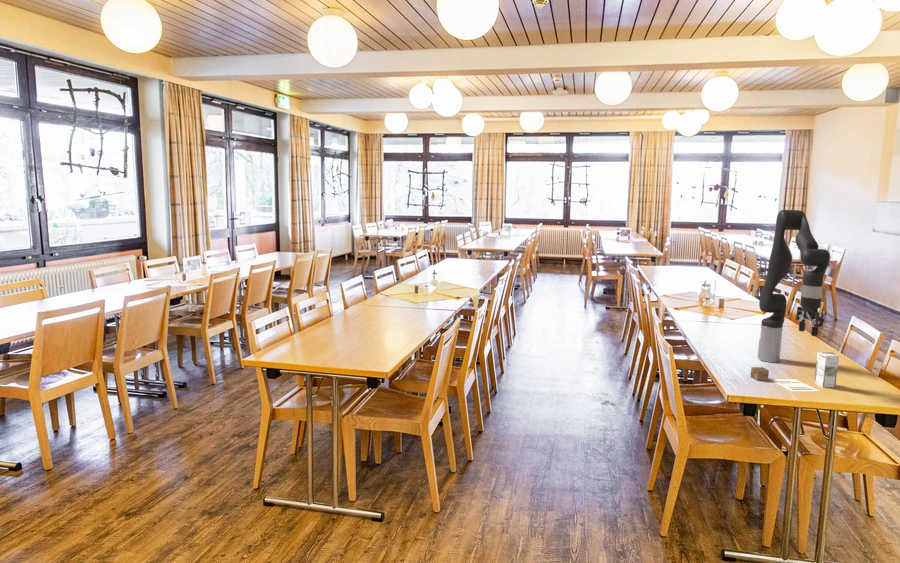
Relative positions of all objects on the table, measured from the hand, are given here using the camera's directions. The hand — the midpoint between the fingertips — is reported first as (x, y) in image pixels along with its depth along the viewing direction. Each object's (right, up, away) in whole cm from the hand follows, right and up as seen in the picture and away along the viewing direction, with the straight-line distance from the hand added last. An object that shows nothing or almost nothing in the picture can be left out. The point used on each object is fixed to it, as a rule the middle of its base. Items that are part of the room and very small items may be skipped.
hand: (807, 333), depth 249 cm
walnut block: (-16, -21, +9) cm, 28 cm away
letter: (-5, -23, +1) cm, 23 cm away
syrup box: (+8, -23, +1) cm, 24 cm away
